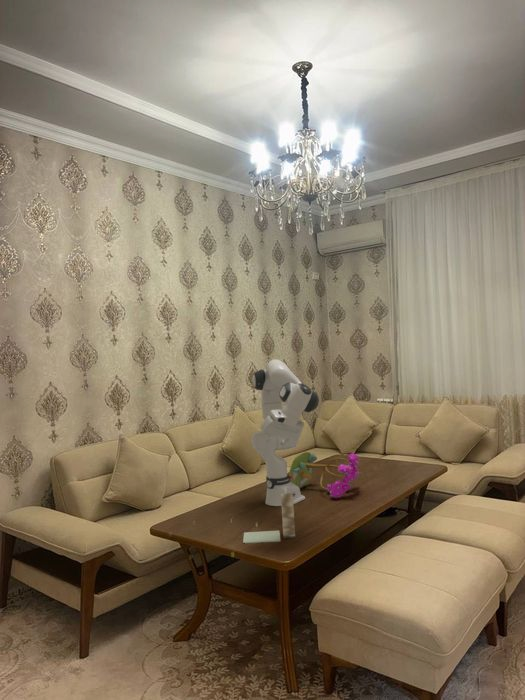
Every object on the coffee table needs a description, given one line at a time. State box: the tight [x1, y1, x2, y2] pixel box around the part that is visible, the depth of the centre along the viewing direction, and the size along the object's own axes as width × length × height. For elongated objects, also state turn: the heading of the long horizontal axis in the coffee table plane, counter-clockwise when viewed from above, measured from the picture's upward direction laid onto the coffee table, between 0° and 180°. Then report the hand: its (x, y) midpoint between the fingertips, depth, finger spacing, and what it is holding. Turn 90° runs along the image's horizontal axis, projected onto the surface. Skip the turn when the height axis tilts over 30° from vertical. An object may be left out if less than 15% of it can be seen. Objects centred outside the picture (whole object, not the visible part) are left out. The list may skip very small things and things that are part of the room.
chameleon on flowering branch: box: [287, 451, 360, 499], centre depth 293 cm, size 30×28×35 cm
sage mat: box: [242, 530, 281, 544], centre depth 230 cm, size 16×12×1 cm
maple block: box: [281, 493, 296, 539], centre depth 230 cm, size 5×5×18 cm
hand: (274, 443), depth 235 cm, fingers open, 8 cm apart
